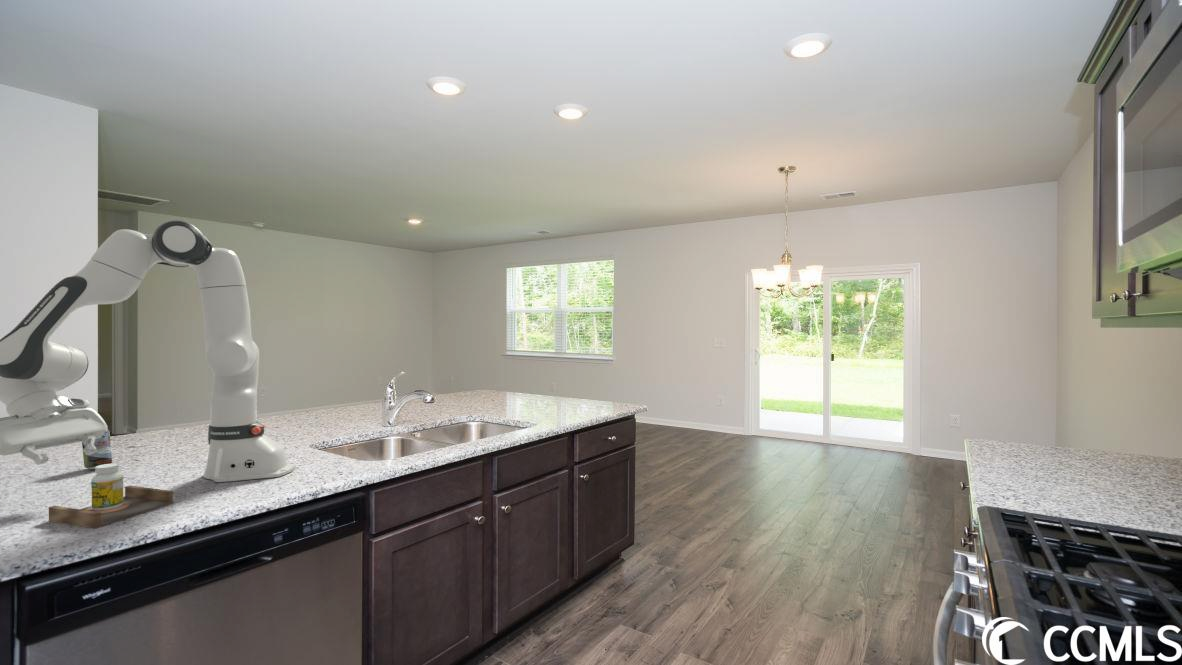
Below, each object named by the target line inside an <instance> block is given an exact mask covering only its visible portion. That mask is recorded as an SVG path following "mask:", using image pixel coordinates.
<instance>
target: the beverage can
mask: <svg viewBox="0 0 1182 665" xmlns="http://www.w3.org/2000/svg"><path fill="white" fill-rule="evenodd" d="M111 444H112V442H111V434H110V430H109V429H108V428H107V431H106V432H105V434H104V435H103V436H102V437H101V438H99V439H95V442H94V446H95V447H96V449H97V451H96V452H95V453H94V454H89V455H86V454H85V452H84V451H83V449H84V448H85V447H86V446H87V444H84V443H83V441H82V442H81V445H82V447H81V448H82V457H83V466H84V467H83V468H84V469H88V470H95V467H96V466H99V465H104V464H113V453H112V446H111Z"/></svg>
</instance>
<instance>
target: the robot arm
mask: <svg viewBox="0 0 1182 665" xmlns="http://www.w3.org/2000/svg"><path fill="white" fill-rule="evenodd" d="M156 264H158V265H163V266H164V265H165V266H168V267H176V268H186V267H190V268H191V269H192V270H193V271H194V272H195V274H196V277H197V283H198V289H199V290H198V291H199V296H200V301H201V308H202V314H203V315H202V316H203V335H204V336H203V338H204V351H205V362H206V365H207V366H208V368H209V370H210V371H212V372H213V379H212V387H211V393H210V399H209V401H210V402H209V404H210V405H209V406H210V408H209V409H210V416H209V417H210V418H209V422H210V424H209V425H208V431H207V440H208V445H209V448H208V456H207V461H206V466H205V469H204V473H203V475H202V476H203V478H204V479H208V480H212V481H213V482H215V483H223V482H237V481H246V480H247V481H248V480H258V479H268V478H269V479H271V478H280V477H283V476H285V475H288V474H289V473H291V472H292V471H294V470H295V469H296V466H297V465H296V462H295V461H293V460H292V461H291V460H288V456H287V455H288V454H287V451H286V448H285V447H284V445H282V444H281V443H278V442H277V441H276V440H274V439H273V438H271V437H269V436H267V435H266V434H265V428H266V427H267V425H266V423H263V424H262V423H260V422H259V421H258V419H257V418H258V417H257V416H258V415H257V414H258V405H257V404H258V401H257V400H258V386H259V385H258V384H259V372H260V371H259V370H260V369H259V368H260V349H259V347H258V345H257V343H255V342H256V341H255V342H254V340H253V337H252V335H253V334H252V322H251V321H252V320H251V317H252V316H251V315H252V314H251V308H250V301H249V295H248V294H249V293H248V288H247V283H246V276H245V274H244V270H243V267H242V264H241V261H240V259H239V257H238V255H237V253H235V252H234V251H233V250H230V249H227V248H225V247H214V246H213V245H212V243H211V242H210V241H209V240H208V238H207V237H206V236H205V235H204V234H203V232H202V231H201V230H200V229H199V228H198V227H196V226H195V225H193V224H192V223H190V222H187V221H183V220H177V219H175V220H169V221H165V222H164V223H162V224H160V225H159V226H157V228H156V229H155V231H154V232H153V233H152V234H144V233H142V232H139V231H137V230H133V229H129V228H128V229H126V228H125V229H124V228H123V229H122V228H121V229H117V230H116V231H114V232H112V233H111V235H110V236H108V237H107V238H106V240H104V241H103V242H102V243H101V245H100V246H99V247H98V249H96V251H95V252H94V253H93V255H92V256H91V257H90V260H89V261H88V262H87V263H86V265H84V267H82V269H80V270H79V271H78V272H76V273H75V274H73V275H71V276H68V277H65V278H63V279H61V280H60V281H59V282H57V283H56V284H55V285H54V286H53V287H51V289H50V290H49V291H48V292H46V294H45V295H44V296H43V297H42V298H41V299H40V300H39V301H38V302H37V304H35V305H34V307H33V308H32V309H31V310H30V311H29V312H28V313H27V314H26V315H25V317H24V318H22V320H20V322H19V323H18V324H17V325H16V326H15V327H14V328H13V329H12V330H11V331H9V332H8V333H7V334H6V335H4V336H3V337H1V338H0V402H2V403H3V404H4V405H5V408H6V412H7V414H8V416H4V417H0V455H1V456H9V455H15V454H20V453H21V455H22V456H23V457H26V458H28V459H31V460H32V461H34V462H35V464H36V465H37V466H39V465H43V464H44V465H45V464H48V461H49V459H50V458H49V456H48V455H47V453H41V452H39V451H38V450H42V449H49V448H54V447H60V446H65V445H70V444H71V445H72V444H75V443H82V441H83V443H84V444H87V446H86V447H85V448H84V449H83V448H82V452H83V451H84V452H85V454H86V455H89V454H94V453H95V452H96V451H97V449H96V447H95V446H94V442H95V439H99V438H101V437H102V436H103V435H104V434H105V432H106V431H107V429H108V425H107V423H106V421H105V419H104V418H103V417H102V416H101V414H99V413H98V411H97V410H95V409H94V408H91V407H90V402H89V400H88V399H86V398H78V397H70V396H69V397H68V396H63V395H57V393H56V392H59V391H62V390H64V389H65V388H67V387H69V386H71V385H73V384H75V383H76V382H79V380H81V379H82V378H83V377H84V376H85V375H86V373H87V371H88V369H89V359H88V355H87V354H86V352H84V351H83V350H82V349H80V348H77V347H74V346H70V345H66V344H62V343H57V342H53V341H49V339H50V338H51V337H52V336H53V334H54V333H55V332H56V330H58V328H59V327H60V326H61V325H62V323H64V322H65V321H66V319H67V318H69V317H70V315H71V314H72V313H74V311H76V310H78V309H80V308H83V307H87V306H93V305H113V304H117V303H121V302H124V301H126V300H128V299H129V298H130V297H132V296H133V295H134V294H135V293H136V291H137V290H138V288H139V287H140V285H141V283H142V282H143V281H144V279H145V277H146V275H147V273H149V271H150V269H152V267H153V266H154V265H156Z"/></svg>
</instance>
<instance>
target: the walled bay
mask: <svg viewBox="0 0 1182 665" xmlns="http://www.w3.org/2000/svg"><path fill="white" fill-rule="evenodd" d="M173 504H174V490H169V489H168V490H167V489H160V488H152V487H144V486H136V485H126V486H124V496H123V505H122V506H120V507H118V508H115V509H111V510H104V511H95V510H93V509H92V505H90V506H87V507H83V508H72V507H66V506H59V505H52V506H48V522H52V521H53V522H54V523H61V524H65V523H66V525H71V524H73V526H77V525H79V526H80V527H84V526H85V527H84V528H90V527H91V528H90V529H98V528H101V527H105V526H108V525H110V524H115V523H116V522H120V521H123V520H126V519H129V518H133V517H136V516H139V515H142V514H145V513H147V512H152V511H154V510H157V509H160V508H164V507H167V506H170V505H173ZM53 522H52V523H53ZM79 526H78V527H79Z"/></svg>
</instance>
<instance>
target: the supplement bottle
mask: <svg viewBox="0 0 1182 665" xmlns="http://www.w3.org/2000/svg"><path fill="white" fill-rule="evenodd" d="M119 470H120V464H119V463H113V462H112V463H111V464H104V465H99V466H96V467H95V469H94V472H95V474H96V475H94V476H92V478H91V481H90V483H91V506H92V509H93V510H95V511H104V510H111V509H115V508H118V507H120V506H122V505H123V497H124V476H123V475H124V474H123V473H121V472H119Z"/></svg>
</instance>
